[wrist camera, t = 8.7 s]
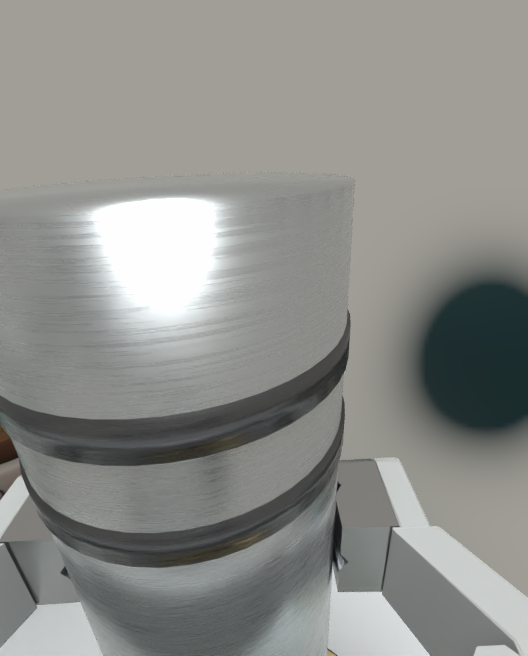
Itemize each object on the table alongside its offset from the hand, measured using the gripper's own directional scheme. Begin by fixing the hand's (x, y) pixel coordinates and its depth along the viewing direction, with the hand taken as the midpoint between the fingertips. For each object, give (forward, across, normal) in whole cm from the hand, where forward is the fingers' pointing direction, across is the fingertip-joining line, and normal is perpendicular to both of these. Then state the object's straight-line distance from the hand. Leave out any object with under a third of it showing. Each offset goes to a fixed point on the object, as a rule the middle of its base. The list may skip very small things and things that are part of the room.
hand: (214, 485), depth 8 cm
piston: (-1, 0, +9) cm, 9 cm away
